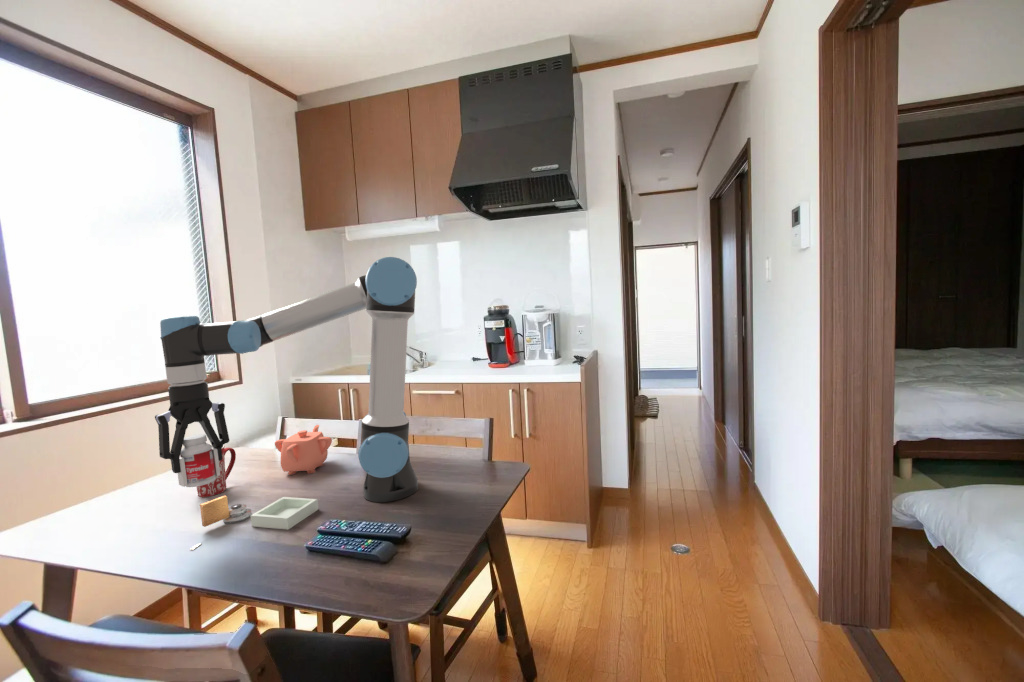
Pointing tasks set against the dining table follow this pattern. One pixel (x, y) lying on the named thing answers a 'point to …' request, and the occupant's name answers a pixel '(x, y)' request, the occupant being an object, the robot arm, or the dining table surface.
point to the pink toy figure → (303, 451)
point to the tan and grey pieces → (220, 510)
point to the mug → (220, 481)
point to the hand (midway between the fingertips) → (200, 479)
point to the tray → (284, 513)
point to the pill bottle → (198, 460)
